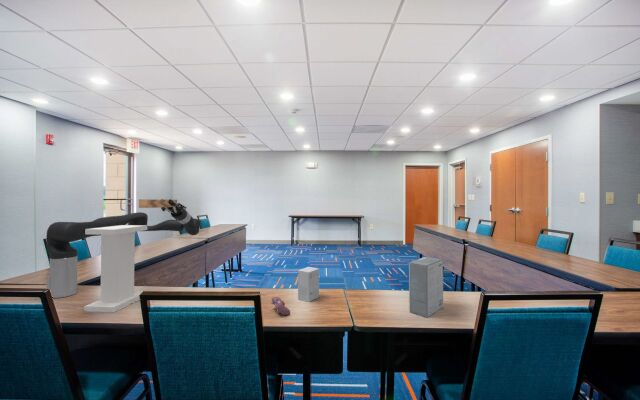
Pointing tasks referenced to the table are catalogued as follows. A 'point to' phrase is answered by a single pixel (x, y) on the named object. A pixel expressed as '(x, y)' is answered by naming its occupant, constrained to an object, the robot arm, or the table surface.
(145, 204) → the baton
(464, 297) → the table surface
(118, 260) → the plinth
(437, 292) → the hard drive box
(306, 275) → the small box
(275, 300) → the purple toy animal
